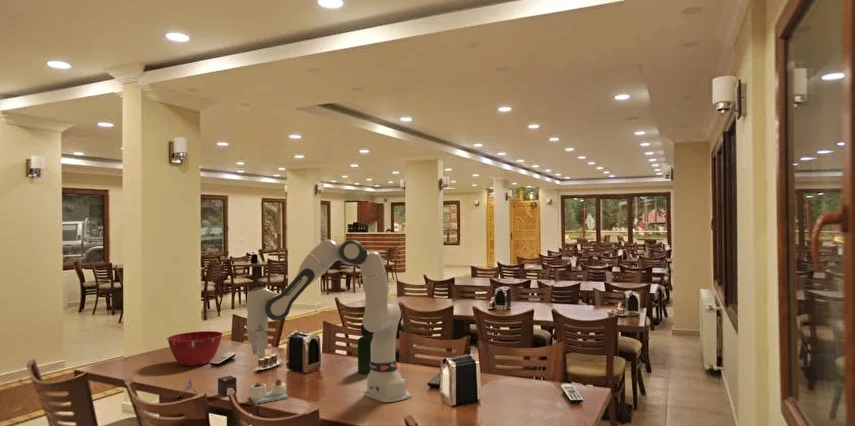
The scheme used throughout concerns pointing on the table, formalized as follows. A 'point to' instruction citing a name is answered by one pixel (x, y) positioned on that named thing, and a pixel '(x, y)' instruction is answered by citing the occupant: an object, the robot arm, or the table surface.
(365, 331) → the spray bottle
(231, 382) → the box
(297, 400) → the table surface
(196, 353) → the mixing bowl
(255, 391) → the ring
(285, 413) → the table surface
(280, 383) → the stand
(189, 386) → the lily
